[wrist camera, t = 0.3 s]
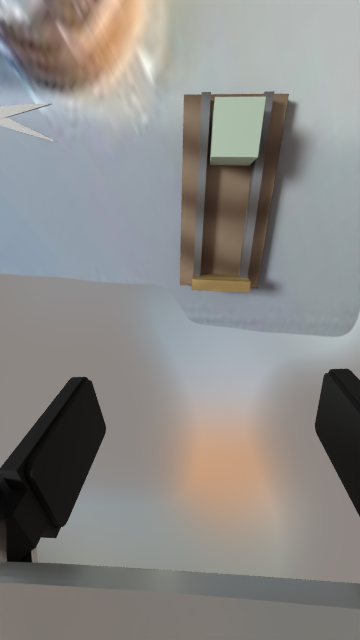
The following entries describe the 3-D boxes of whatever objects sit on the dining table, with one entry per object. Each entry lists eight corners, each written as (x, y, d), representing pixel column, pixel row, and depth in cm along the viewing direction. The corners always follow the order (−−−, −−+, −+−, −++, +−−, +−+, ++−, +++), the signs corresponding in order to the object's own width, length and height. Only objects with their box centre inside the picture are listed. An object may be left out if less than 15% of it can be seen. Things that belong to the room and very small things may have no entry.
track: (184, 100, 29) (181, 76, 24) (284, 99, 28) (302, 75, 23) (180, 282, 39) (177, 292, 34) (254, 285, 38) (263, 296, 33)
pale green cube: (212, 115, 28) (214, 97, 24) (255, 115, 28) (265, 96, 23) (209, 165, 30) (211, 156, 26) (249, 165, 30) (257, 157, 25)
